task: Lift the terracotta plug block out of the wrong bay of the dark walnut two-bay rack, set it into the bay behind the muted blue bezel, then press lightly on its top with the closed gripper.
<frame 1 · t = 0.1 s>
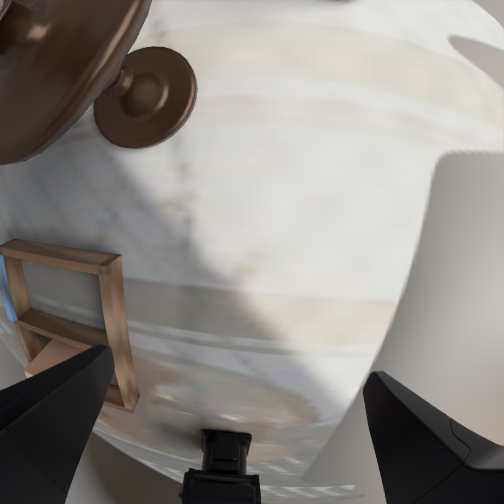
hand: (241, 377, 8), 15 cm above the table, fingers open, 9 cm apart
candlestick: (145, 97, 18), on the table
plug block: (78, 353, 26), resting in rack
rack: (70, 323, 25), on the table
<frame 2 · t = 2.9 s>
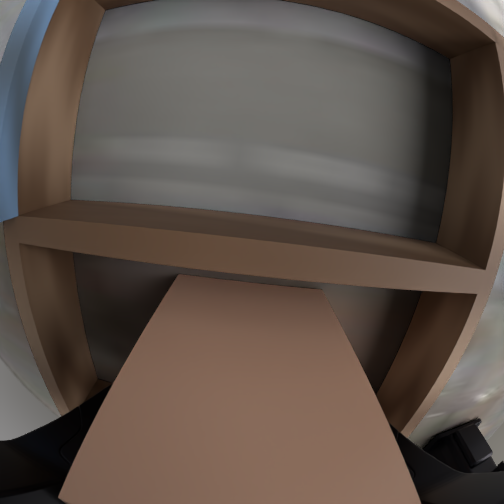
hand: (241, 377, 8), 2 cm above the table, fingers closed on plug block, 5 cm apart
plug block: (243, 341, 10), resting in rack, touching gripper
rack: (257, 227, 9), on the table
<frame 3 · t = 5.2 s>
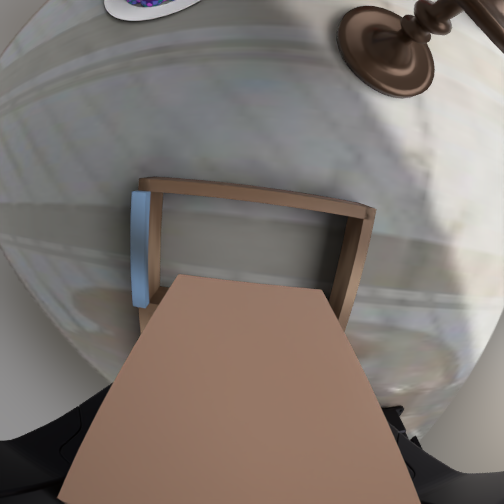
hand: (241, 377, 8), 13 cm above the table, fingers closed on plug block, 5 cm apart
candlestick: (385, 51, 16), on the table
plug block: (243, 341, 10), point 11 cm above the table, touching gripper
rack: (243, 302, 22), on the table
when the fingers open (3 cm above the table, at t = 7.5 s): plug block stays where it is, resting in rack.
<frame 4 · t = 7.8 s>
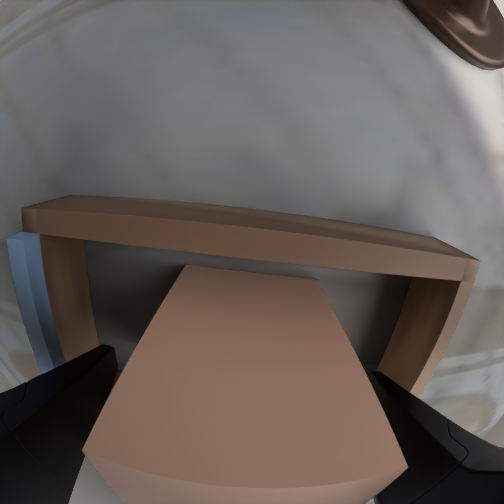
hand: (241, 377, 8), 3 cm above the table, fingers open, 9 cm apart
candlestick: (450, 1, 6), on the table
plug block: (244, 327, 11), resting in rack
rack: (234, 397, 12), on the table
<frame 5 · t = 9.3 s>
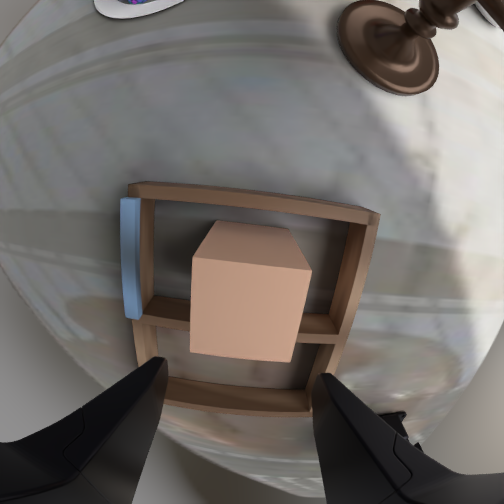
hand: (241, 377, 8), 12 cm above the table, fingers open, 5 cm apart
plastic bottle: (482, 10, 11), on the table
candlestick: (388, 47, 14), on the table
plug block: (248, 258, 20), resting in rack
rack: (241, 311, 21), on the table
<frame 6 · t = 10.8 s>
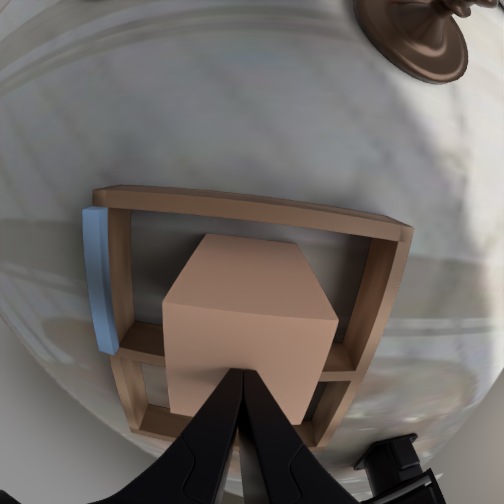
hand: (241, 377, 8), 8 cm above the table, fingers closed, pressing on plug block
plastic bottle: (501, 1, 7), on the table
candlestick: (412, 28, 11), on the table
plug block: (246, 280, 16), resting in rack, touching gripper
rack: (238, 341, 17), on the table
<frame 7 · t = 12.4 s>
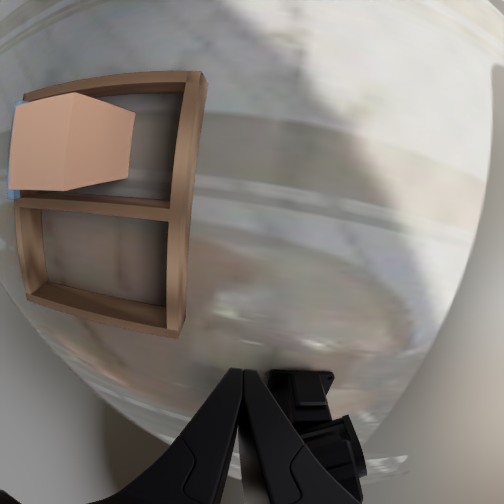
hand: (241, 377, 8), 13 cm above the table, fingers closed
plug block: (103, 145, 17), resting in rack
rack: (99, 199, 19), on the table
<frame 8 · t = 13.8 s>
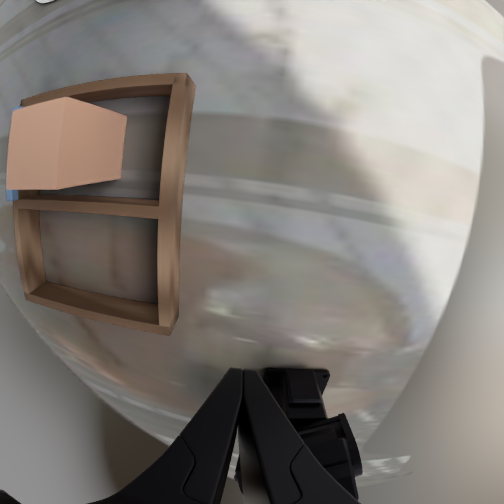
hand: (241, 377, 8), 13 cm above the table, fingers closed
plug block: (97, 147, 18), resting in rack
rack: (93, 200, 19), on the table
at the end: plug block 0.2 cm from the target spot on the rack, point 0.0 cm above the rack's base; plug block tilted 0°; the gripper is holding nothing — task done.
